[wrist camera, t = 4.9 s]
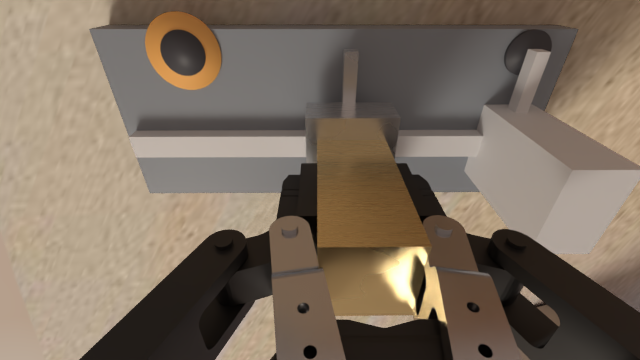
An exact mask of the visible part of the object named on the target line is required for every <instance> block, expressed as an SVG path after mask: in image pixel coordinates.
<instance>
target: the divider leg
mask: <svg viewBox="0 0 640 360" xmlns="http://www.w3.org/2000/svg"><path fill="white" fill-rule="evenodd" d="M358 56H359V52H358V50H357V49H344V53H343V78H342V102H307V103H306V115H305V129H306V163H317V259H318V263H319V267H322V268H323V270H324V274H325V278H326V282H327V286H328V290H329V294H330V298H331V302H332V306H333V310H334V314H335V316H368V315H413V306H414V303H415V300H417V299H418V295H419V292H420V288H421V285H422V281H423V277H424V274H425V267H424V266H425V262H426V259H427V255H430V252H431V249H432V245H431V243H430V241H429V239H428V236H427V234H426V232H425V229H424V227H423V225H422V222H421V220H420V218H419V215H418V213H417V211H416V208H415V206H414V204H413V201H412V199H411V197H410V194H409V192H408V190H407V188H406V185H405V183H404V181H403V178H402V176H401V174H400V171H399V169H398V167H397V164H396V162H395V160H394V159H395V153H396V146H397V139H398V133H399V126H400V120H401V118H400V116H399V115H398V113H397V111H396V110H395V108H394V106H393V105H392V103H391V102H356V87H357V72H358Z"/></svg>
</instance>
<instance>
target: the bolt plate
mask: <svg viewBox="0 0 640 360" xmlns="http://www.w3.org/2000/svg"><path fill="white" fill-rule="evenodd" d="M89 30H90V32H91V35H92V38H93V41H94V43H95V46H96V49H97V51H98V54H99V57H100V60H101V62H102V65H103V68H104V70H105V73H106V76H107V78H108V81H109V84H110V87H111V89H112V92H113V95H114V97H115V100H116V103H117V105H118V108H119V111H120V114H121V116H122V119H123V122H124V124H125V127H126V130H127V132H128V135H129V140H130V142H131V145H132V148H133V150H134V153H135V156H136V158H137V159H138V162H139V165H140V168H141V170H142V173H143V176H144V178H145V181H146V184H147V187H148V189H149V192H150V193H281V191H282V184H283V181H284V180H285V179H286V177H287V176H288V175H300V171H301V163H306V129H305V115H306V103H307V102H342V78H343V53H344V49H357V50H358V52H359V56H358V72H357V87H356V102H391V103H392V105H393V106H394V108H395V110H396V111H397V113H398V115H399V116H400V118H401V120H400V126H399V133H398V139H397V146H396V153H395V159H394V160H395V162H396V163H407V165H408V167H409V169H410V171H411V173H412V174H419V175H420V176H421V177H423V178H424V179H425V180H426V181H428V183H429V185H430V187H431V190H432V191H433V192H481V194H482V195H483V196H484V197H485V199H486V200H487V201H488V203H489V204H490V205H491V207H492V208H493V209H494V210H495V212H496V213H497V214H498V216H499V217H500V218H501V220H502V221H503V222H504V223H505V225H506V226H507V227H508V229H509V230H515V231H518V232H521V233H523V234H525V235H527V236H529V237H530V238H532V239H533V240H535V241H536V242H538V243H539V244H541V245H542V246H543V247H545V248H546V249H548V250H549V251H551V252H552V253H554V254H589V253H590V252H591V251H592V249H593V248H594V246H595V245H596V243H597V242H598V240H599V239H600V237H601V236H602V234H603V233H604V231H605V230H606V228H607V227H608V225H609V224H610V223H611V221H612V220H613V218H614V217H615V215H616V214H617V212H618V211H619V209H620V208H621V206H622V205H623V203H624V202H625V200H626V199H627V198H628V196H629V195H630V193H631V192H632V190H633V189H634V187H635V186H636V184H637V183H638V181H639V180H640V166H639V165H637V164H635V163H633V162H632V161H630V160H628V159H626V158H625V157H623V156H621V155H619V154H618V153H616V152H614V151H612V150H611V149H609V148H607V147H606V146H604V145H602V144H600V143H599V142H597V141H595V140H593V139H592V138H590V137H588V136H586V135H585V134H583V133H581V132H580V131H578V130H576V129H574V128H573V127H571V126H569V125H567V124H566V123H564V122H562V121H560V120H559V119H557V118H555V117H553V116H552V115H550V114H548V113H547V112H545V108H546V106H547V103H548V101H549V99H550V96H551V94H552V91H553V89H554V87H555V84H556V82H557V79H558V77H559V75H560V72H561V70H562V67H563V65H564V63H565V60H566V58H567V55H568V53H569V51H570V48H571V46H572V43H573V41H574V39H575V36H576V34H577V31H578V29H575V28H570V27H564V26H559V25H205V24H204V23H203V22H202V21H201V20H199V19H198V18H196V17H194V16H192V15H190V14H187V13H184V12H177V11H173V12H167V13H163V14H161V15H159V16H157V17H156V18H155V19H154V20H153V21H152V22H151V23H150V25H106V26H101V27H97V28H92V29H89Z"/></svg>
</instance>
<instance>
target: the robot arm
mask: <svg viewBox="0 0 640 360" xmlns="http://www.w3.org/2000/svg"><path fill="white" fill-rule="evenodd" d="M396 164H397V167H398V169H399V171H400V174H401V176H402V178H403V181H404V183H405V185H406V188H407V190H408V192H409V194H410V197H411V199H412V201H413V204H414V206H415V208H416V211H417V213H418V215H419V218H420V220H421V222H422V225H423V227H424V229H425V232H426V234H427V236H428V239H429V241H430V243H431V245H432V249H431V252H430V255H427V259H426V262H425V266H424V267H425V274H424V277H423V281H422V285H421V288H420V292H419V295H418V299H417V300H415V303H414V306H413V319H414V321H410V322H406V323H403V324H399V325H395V326H392V327H388V328H381V327H376V326H372V325H368V324H364V323H360V322H355V321H351V320H336V318H335V314H334V310H333V306H332V302H331V298H330V294H329V290H328V286H327V282H326V278H325V274H324V270H323V268H322V267H319V263H318V259H317V163H301V171H300V175H288V176H287V177H286V179H285V180H284V181H283V184H282V191H281V197H280V202H279V207H278V213H277V219H276V220H275V221H274V222H273V223H272V224H271V226H270V228H269V231H267V232H266V233H264V234H261V235H258V236H254V237H250V238H245V236H244V235H243V234H242V233H241V232H239V231H236V230H222V231H218V232H216V233H214V234H212V235H210V236H209V237H208V238H207V239H205V240H204V241H203V242H202V243H201V244H200V245H199V246H198V247H197V248H196V249H195V250H194V251H193V252H192V253H191V254H190V255H189V256H188V257H187V258H186V259H184V260H183V261H182V262H181V263H180V264H179V265H178V266H177V267H176V268H175V269H174V270H173V271H172V272H171V273H170V274H169V275H168V276H167V277H166V278H165V279H163V280H162V281H161V282H160V283H159V284H158V285H157V286H156V287H155V288H154V289H153V290H152V291H151V292H150V293H149V294H148V295H147V296H146V297H145V298H144V299H142V300H141V301H140V302H139V303H138V304H137V305H136V306H135V307H134V308H133V309H132V310H131V311H130V312H129V313H128V314H127V315H126V316H125V317H124V318H123V319H121V320H120V321H119V322H118V323H117V324H116V325H115V326H114V327H113V328H112V329H111V330H110V331H109V332H108V333H107V334H106V335H105V336H104V337H103V338H102V339H100V340H99V341H98V342H97V343H96V344H95V345H94V346H93V347H92V348H91V349H90V350H89V351H88V352H87V353H86V354H85V355H84V356H83V357H82V358H81V359H79V360H215V359H216V357H217V356H218V355H219V353H220V352H221V350H222V349H223V347H224V346H225V344H226V343H227V342H228V340H229V339H230V337H231V336H232V334H233V333H234V331H235V330H236V329H237V327H238V326H239V324H240V323H241V321H242V320H243V318H244V317H245V315H246V314H247V313H248V311H249V310H250V308H251V307H252V305H253V304H254V302H255V300H257V299H260V298H264V297H267V296H270V295H273V307H274V323H275V338H276V353H275V354H274V356H273V357H272V358H271V359H270V360H640V313H639V312H638V311H637V310H635V309H634V308H632V307H631V306H629V305H628V304H626V303H625V302H623V301H622V300H621V299H619V298H618V297H616V296H615V295H613V294H612V293H610V292H609V291H607V290H606V289H605V288H603V287H602V286H600V285H599V284H597V283H596V282H594V281H593V280H591V279H590V278H589V277H587V276H586V275H584V274H583V273H581V272H580V271H578V270H577V269H575V268H574V267H573V266H571V265H570V264H568V263H567V262H565V261H564V260H562V259H561V258H559V257H558V256H557V255H555V254H554V253H552V252H551V251H549V250H548V249H546V248H545V247H543V246H542V245H541V244H539V243H538V242H536V241H535V240H533V239H532V238H530V237H529V236H527V235H525V234H523V233H521V232H518V231H515V230H509V229H501V230H497V231H495V232H494V233H493V235H492V238H491V239H489V238H484V237H480V236H475V235H471V234H468V233H466V232H465V229H464V227H463V226H462V225H461V224H460V223H459V222H457V221H456V220H454V219H452V218H449V217H447V216H446V214H445V213H444V211H443V209H442V207H441V205H440V203H439V202H438V200H437V198H436V197H435V194H434V192H433V191H432V190H431V187H430V185H429V183H428V181H426V180H425V179H424V178H423V177H421V176H420V175H419V174H412V173H411V171H410V169H409V167H408V165H407V163H396ZM523 286H525V287H526V288H528V289H529V290H530V291H531V292H532V293H534V294H535V295H536V296H537V297H538V298H540V299H541V300H542V301H543V302H544V303H546V304H547V305H544V306H540V307H535V306H534V305H533V304H532V303H531V302H530V301H529V300H527V299H526V298H525V297H524V296H523V295H522V294H520V291H521V289H522V288H523Z"/></svg>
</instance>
